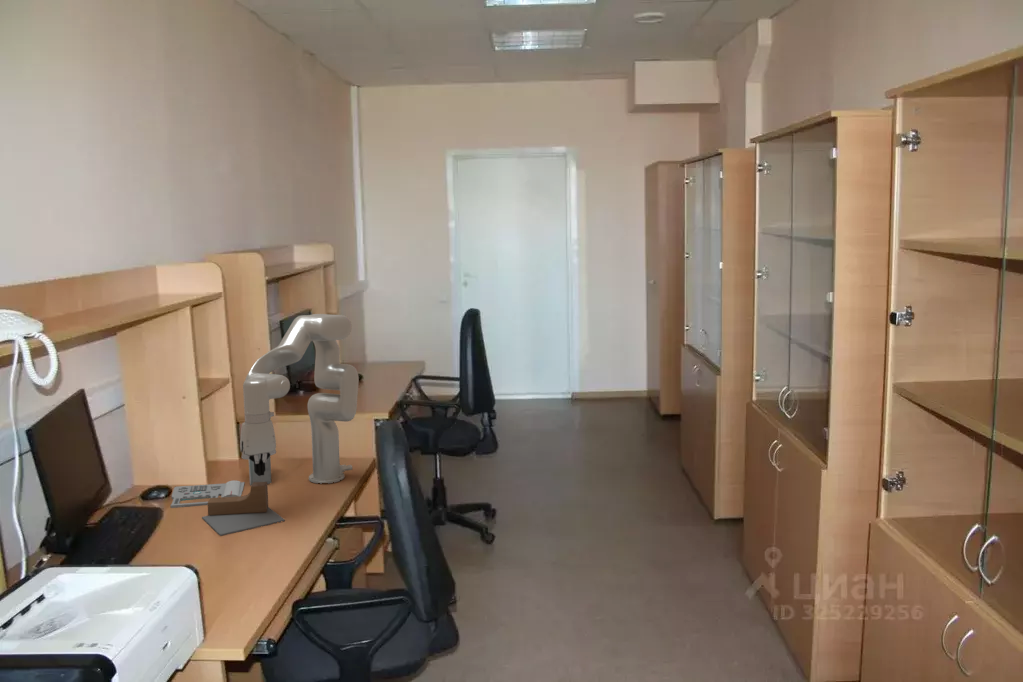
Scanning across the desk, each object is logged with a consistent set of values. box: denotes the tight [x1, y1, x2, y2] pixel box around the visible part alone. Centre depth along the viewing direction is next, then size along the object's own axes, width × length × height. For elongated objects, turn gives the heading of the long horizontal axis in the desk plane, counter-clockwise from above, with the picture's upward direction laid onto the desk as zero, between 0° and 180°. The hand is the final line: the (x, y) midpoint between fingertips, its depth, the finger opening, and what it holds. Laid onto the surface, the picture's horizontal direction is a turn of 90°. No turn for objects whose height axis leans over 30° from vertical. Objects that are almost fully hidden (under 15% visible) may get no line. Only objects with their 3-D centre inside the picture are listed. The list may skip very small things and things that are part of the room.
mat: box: [201, 506, 286, 537], centre depth 256 cm, size 20×18×1 cm
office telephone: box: [170, 480, 245, 509], centre depth 278 cm, size 23×3×20 cm
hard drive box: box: [248, 454, 272, 486], centre depth 295 cm, size 16×8×20 cm, turn 17°
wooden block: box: [207, 482, 269, 516], centre depth 261 cm, size 9×4×18 cm
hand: (260, 474), depth 257 cm, fingers closed
